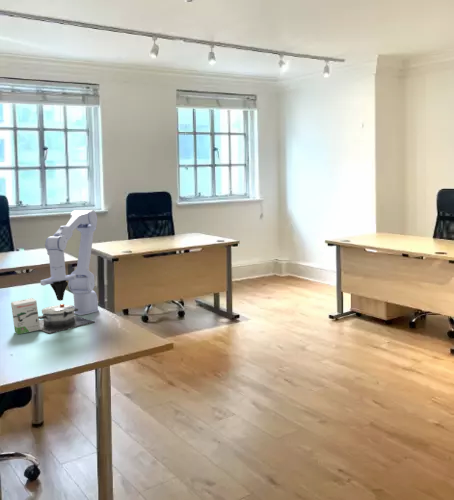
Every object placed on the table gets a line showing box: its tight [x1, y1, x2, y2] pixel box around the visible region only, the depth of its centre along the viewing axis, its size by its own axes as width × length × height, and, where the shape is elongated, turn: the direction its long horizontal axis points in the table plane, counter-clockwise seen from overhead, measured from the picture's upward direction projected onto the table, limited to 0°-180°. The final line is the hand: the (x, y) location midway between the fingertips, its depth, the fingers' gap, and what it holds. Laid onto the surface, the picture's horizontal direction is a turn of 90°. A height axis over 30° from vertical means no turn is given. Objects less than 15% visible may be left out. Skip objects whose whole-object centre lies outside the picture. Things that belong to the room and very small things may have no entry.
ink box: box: [10, 297, 40, 335], centre depth 221 cm, size 9×5×12 cm, turn 123°
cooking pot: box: [38, 308, 95, 335], centre depth 232 cm, size 20×20×5 cm
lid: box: [41, 303, 75, 315], centre depth 230 cm, size 13×16×2 cm
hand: (60, 300), depth 230 cm, fingers closed
